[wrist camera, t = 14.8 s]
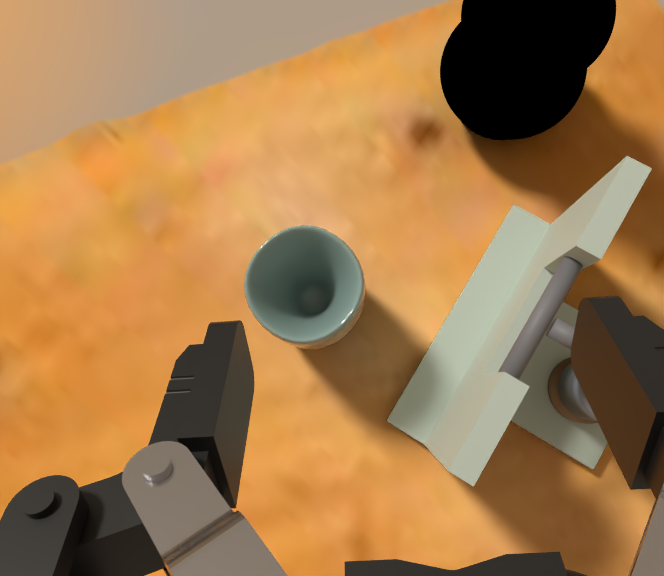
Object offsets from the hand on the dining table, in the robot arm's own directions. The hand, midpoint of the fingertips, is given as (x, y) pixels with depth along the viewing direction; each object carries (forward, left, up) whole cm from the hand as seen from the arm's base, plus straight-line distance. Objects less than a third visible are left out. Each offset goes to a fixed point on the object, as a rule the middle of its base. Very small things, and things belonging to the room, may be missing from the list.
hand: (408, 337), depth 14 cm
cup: (+2, +7, -33) cm, 34 cm away
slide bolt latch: (+7, -10, -33) cm, 35 cm away
